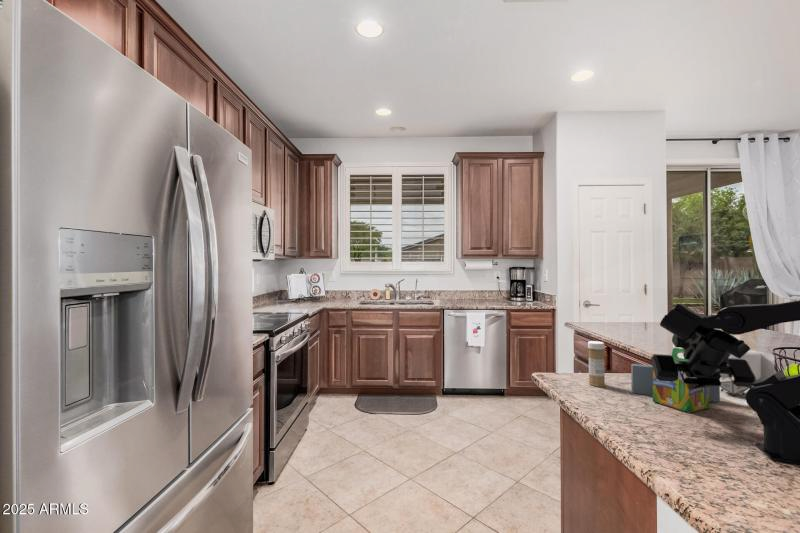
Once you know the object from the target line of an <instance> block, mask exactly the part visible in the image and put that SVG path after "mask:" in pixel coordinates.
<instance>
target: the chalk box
mask: <svg viewBox="0 0 800 533" xmlns="http://www.w3.org/2000/svg"><path fill="white" fill-rule="evenodd" d="M684 352H685V351H684V350H683V348H679V347H673V348H672V352H671V356H673V359H674V361H688V360H687V359H684V358H682V357H679V356H678V354H684ZM652 402H654V403H656V404H657V403H658V404H661V405H664V406H667V407H669V408H674V409H676V410H678V411H681V412H684V413H687V414H690V413H694V412H699V411H701V410H705V409H709V408H710V401H709V387H704V388H698V389H688V387H687V384H685V383H684V382H683V380H682V377H681V374H680V372H679V371H678V379H677V380H676V381H672V382H671V381H659V380H658V379H656V376H655V373H654V370H653V395H652Z"/></svg>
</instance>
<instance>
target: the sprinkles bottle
mask: <svg viewBox="0 0 800 533" xmlns="http://www.w3.org/2000/svg"><path fill="white" fill-rule="evenodd" d="M587 348H588V376H589V377H588V384H589V385H590V386H593V387H601V388H602V387H605V386H606V384H605V375H606V374H605V373H606V371H605V348H606V347H605V342H603V341H599V340H590V341H589V340H588V342H587Z"/></svg>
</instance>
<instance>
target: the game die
mask: <svg viewBox="0 0 800 533" xmlns="http://www.w3.org/2000/svg"><path fill="white" fill-rule="evenodd" d="M734 380H735V379H734V377H733V375H732V378H725V377H721V378H720V382H721V385H720V392H724V391H725V392H727V393H729V394H731V396H732V398H734V397H735V395H736V394H742V395H743V396H746V393H745V392H747V391H748V390H749V389H751V388H752V387H740V386H736V385H735V384H734V383H733V381H734Z"/></svg>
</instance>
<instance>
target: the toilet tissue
mask: <svg viewBox="0 0 800 533" xmlns="http://www.w3.org/2000/svg"><path fill="white" fill-rule="evenodd" d="M729 358H736V359H744V360H746V361H747V362H748V363H749V365H750V367H751V369H752V371H753V373H754V375H755V377H756V380H758V379H759V378H765V377H769V376H771V375H773V374H775V373H776V371H775V354H772V353H767V352H763V351H759V350H752V349H750V350H749V351H748V352H747V353H746V354H745V355H743V356H742V357H741V358H737V357H735V356H734V355H732V354H731V355H730V356H729ZM752 387H754V386H752ZM752 387H751V388H752Z"/></svg>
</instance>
